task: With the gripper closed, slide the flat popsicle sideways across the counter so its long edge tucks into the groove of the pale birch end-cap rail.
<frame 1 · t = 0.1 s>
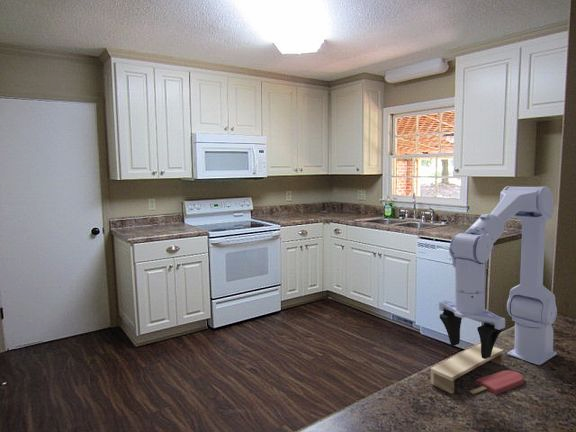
hand: (470, 350, 89), 10 cm above the countertop, tool pointing down, fingers open, 7 cm apart
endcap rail: (468, 373, 98), on the countertop
popsicle: (495, 387, 93), on the countertop
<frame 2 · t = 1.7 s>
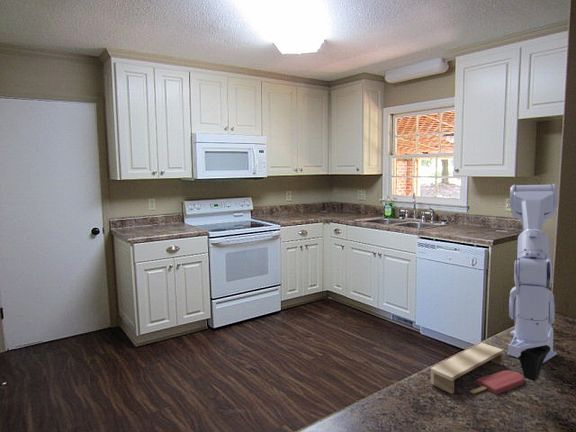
hand: (530, 378, 86), 5 cm above the countertop, tool pointing down, fingers closed
nothing on the countertop moved.
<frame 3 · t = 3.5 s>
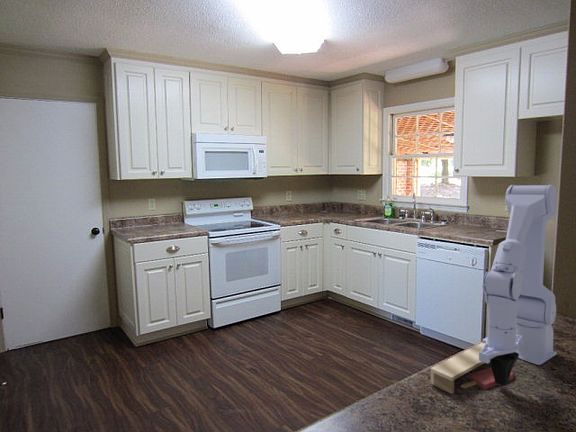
hand: (501, 383, 91), 1 cm above the countertop, tool pointing down, fingers closed
popsicle: (486, 383, 95), on the countertop
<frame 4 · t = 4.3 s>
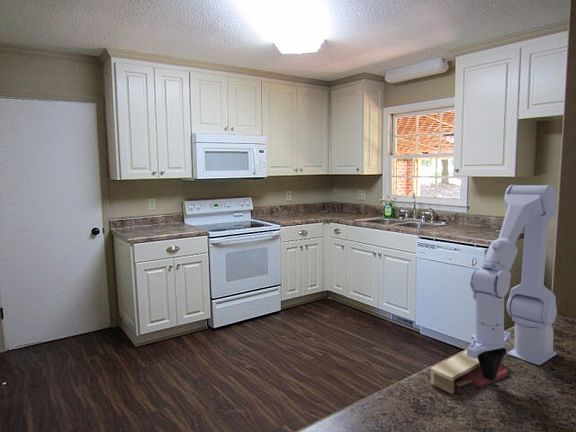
hand: (489, 378, 94), 1 cm above the countertop, tool pointing down, fingers closed, pressing on popsicle
popsicle: (480, 380, 96), on the countertop, touching gripper
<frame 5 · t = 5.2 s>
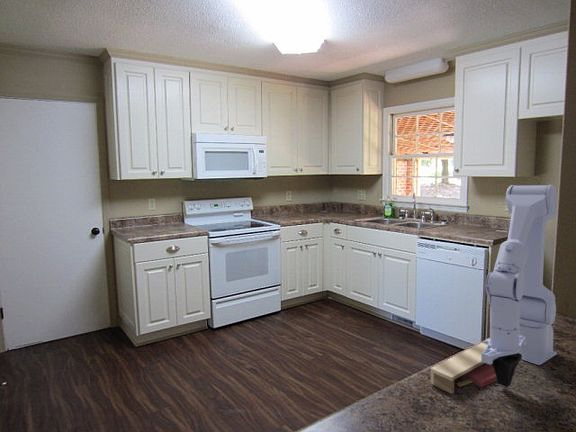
hand: (504, 384, 91), 1 cm above the countertop, tool pointing down, fingers closed
popsicle: (481, 380, 96), on the countertop
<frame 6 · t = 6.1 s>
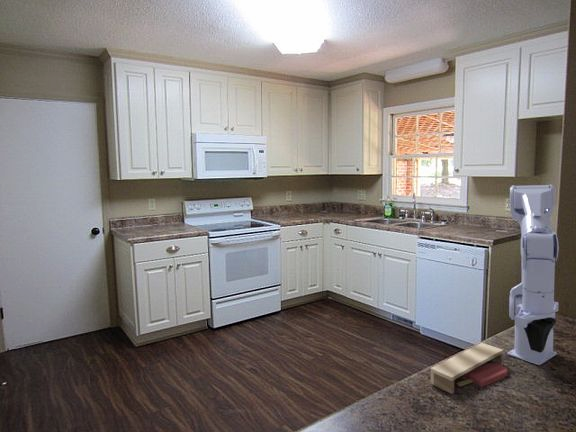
hand: (536, 350, 88), 9 cm above the countertop, tool pointing down, fingers closed
nothing on the countertop moved.
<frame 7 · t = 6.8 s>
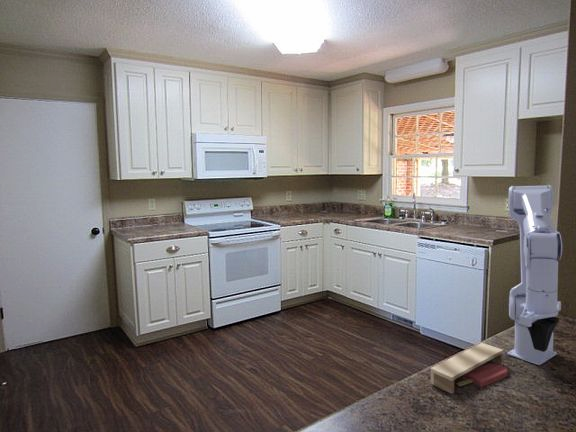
hand: (540, 349, 89), 9 cm above the countertop, tool pointing down, fingers closed
nothing on the countertop moved.
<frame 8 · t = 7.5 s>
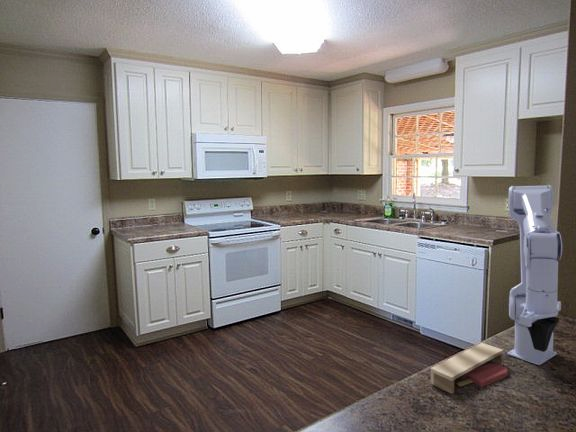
hand: (540, 349, 89), 9 cm above the countertop, tool pointing down, fingers closed
nothing on the countertop moved.
at the end: popsicle inside the target area (1.3 cm from its centre), on the countertop; popsicle tilted 2°; the gripper is holding nothing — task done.
